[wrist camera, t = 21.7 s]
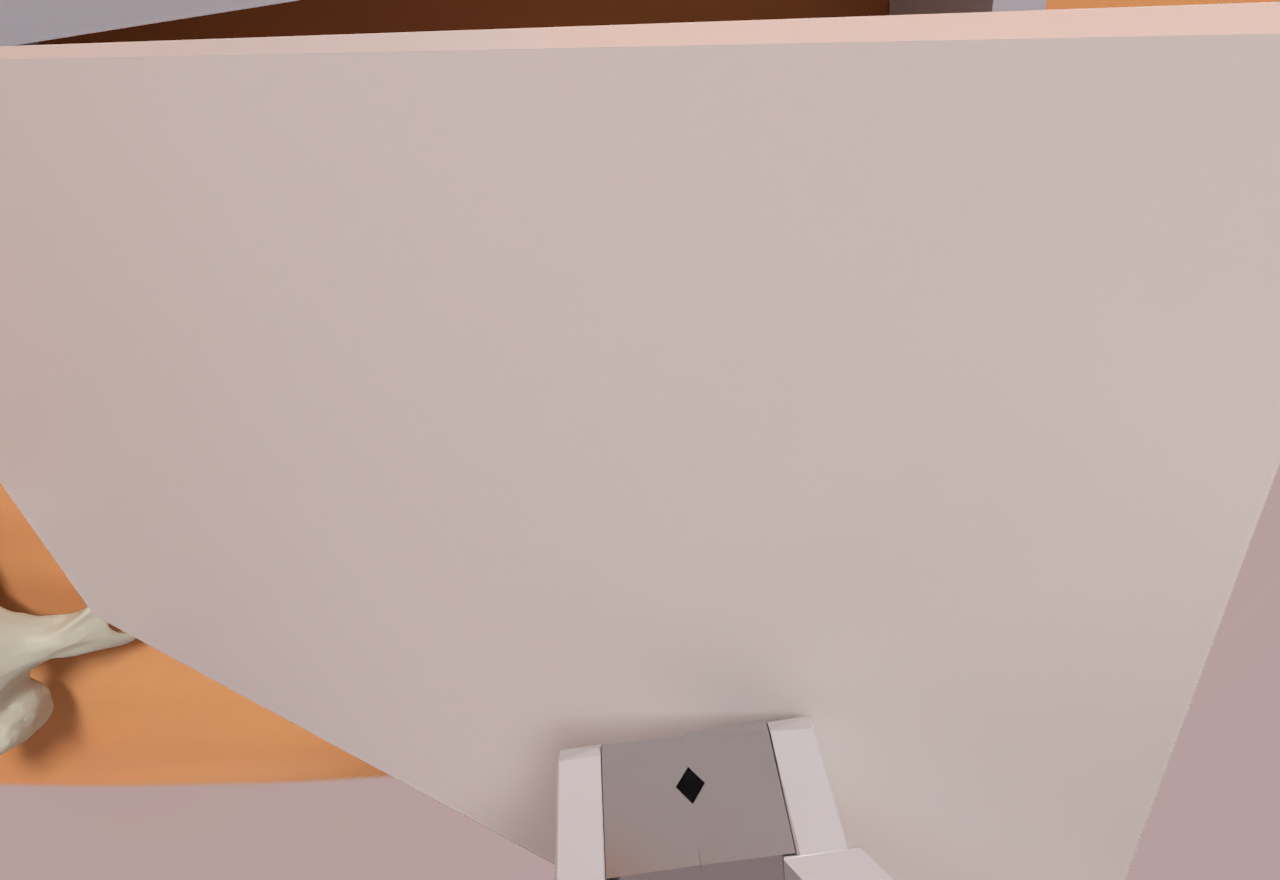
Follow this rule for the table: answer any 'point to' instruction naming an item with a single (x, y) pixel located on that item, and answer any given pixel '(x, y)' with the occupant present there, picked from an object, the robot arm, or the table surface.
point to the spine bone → (18, 642)
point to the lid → (669, 393)
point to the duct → (88, 3)
